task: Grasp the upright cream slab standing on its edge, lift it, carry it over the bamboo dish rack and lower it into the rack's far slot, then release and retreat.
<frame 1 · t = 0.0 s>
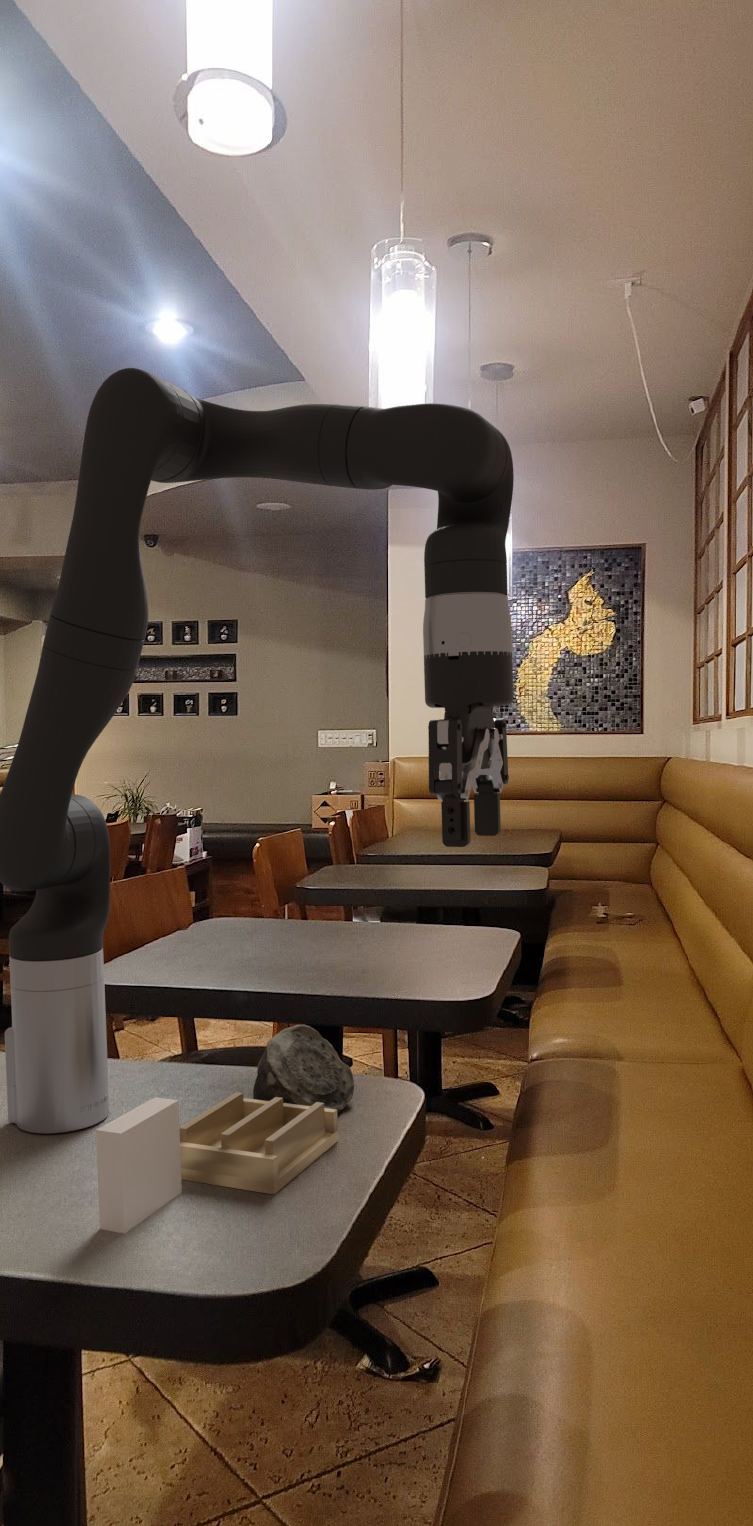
hand: (472, 840, 93), 29 cm above the table, fingers open, 8 cm apart
rack: (254, 1157, 99), on the table
fossil: (303, 1110, 112), on the table
upright cream slab: (142, 1210, 89), on the table
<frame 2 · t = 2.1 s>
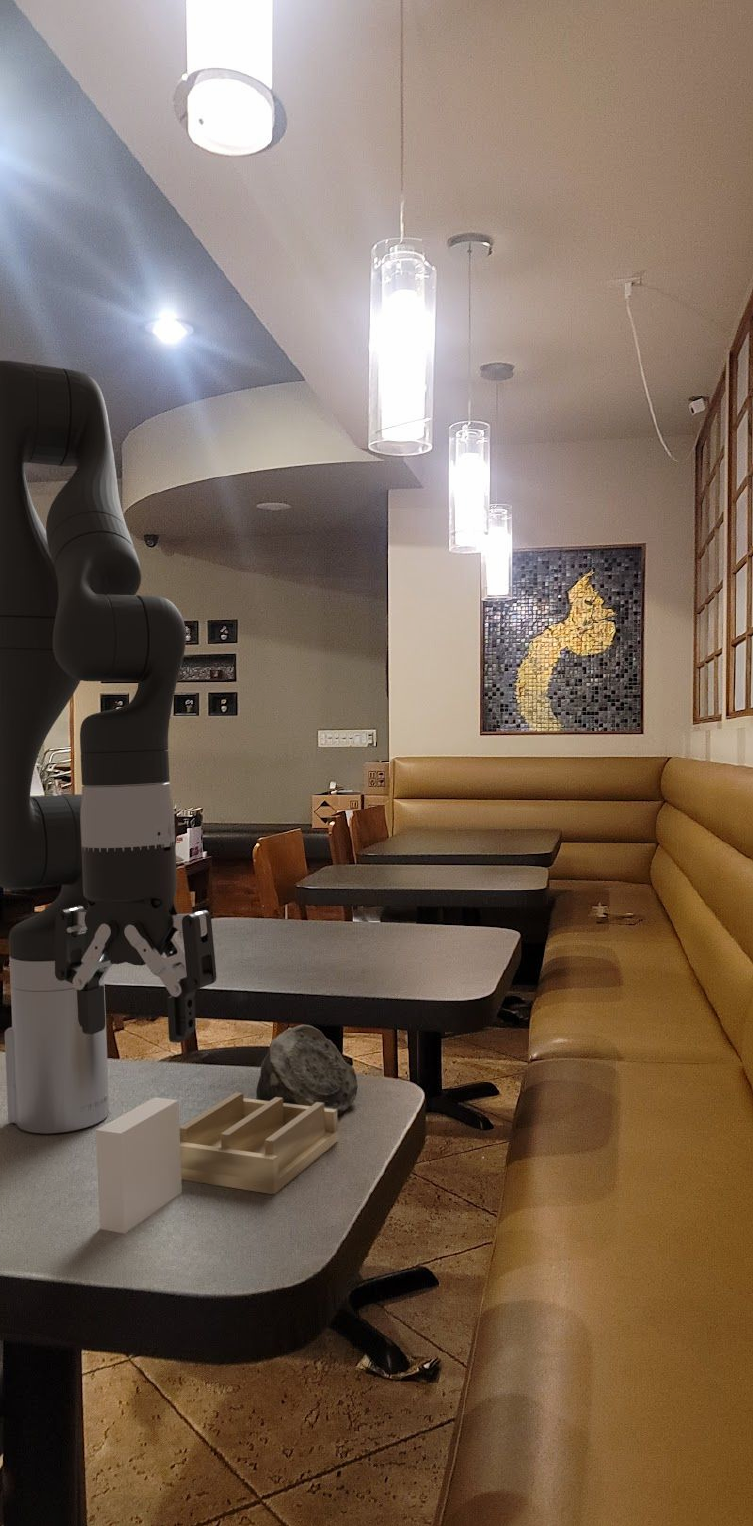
hand: (136, 1036, 89), 14 cm above the table, fingers open, 8 cm apart
nothing on the table moved.
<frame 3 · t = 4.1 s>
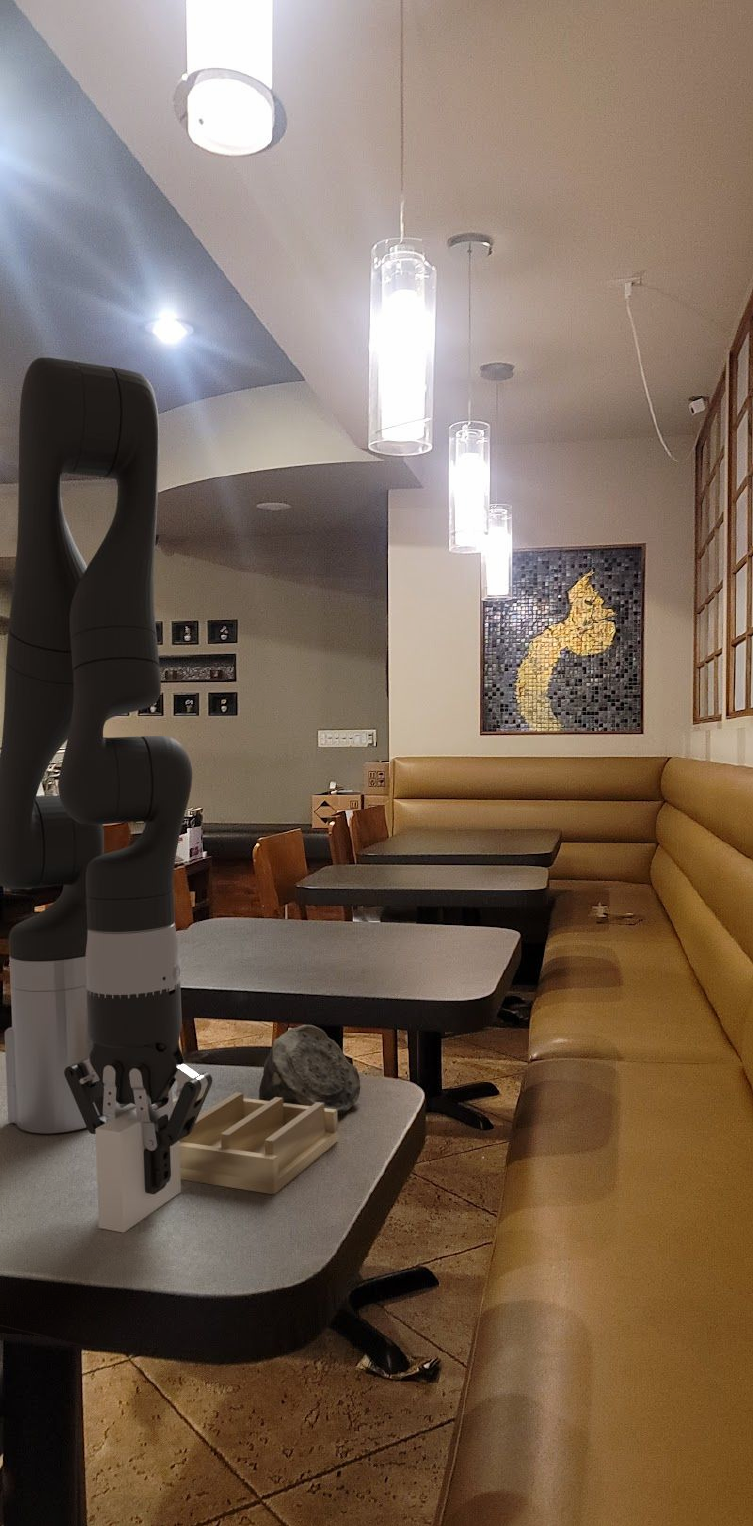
hand: (141, 1186, 89), 2 cm above the table, fingers closed on upright cream slab, 2 cm apart
upright cream slab: (141, 1209, 89), on the table, touching gripper
everything else where it was.
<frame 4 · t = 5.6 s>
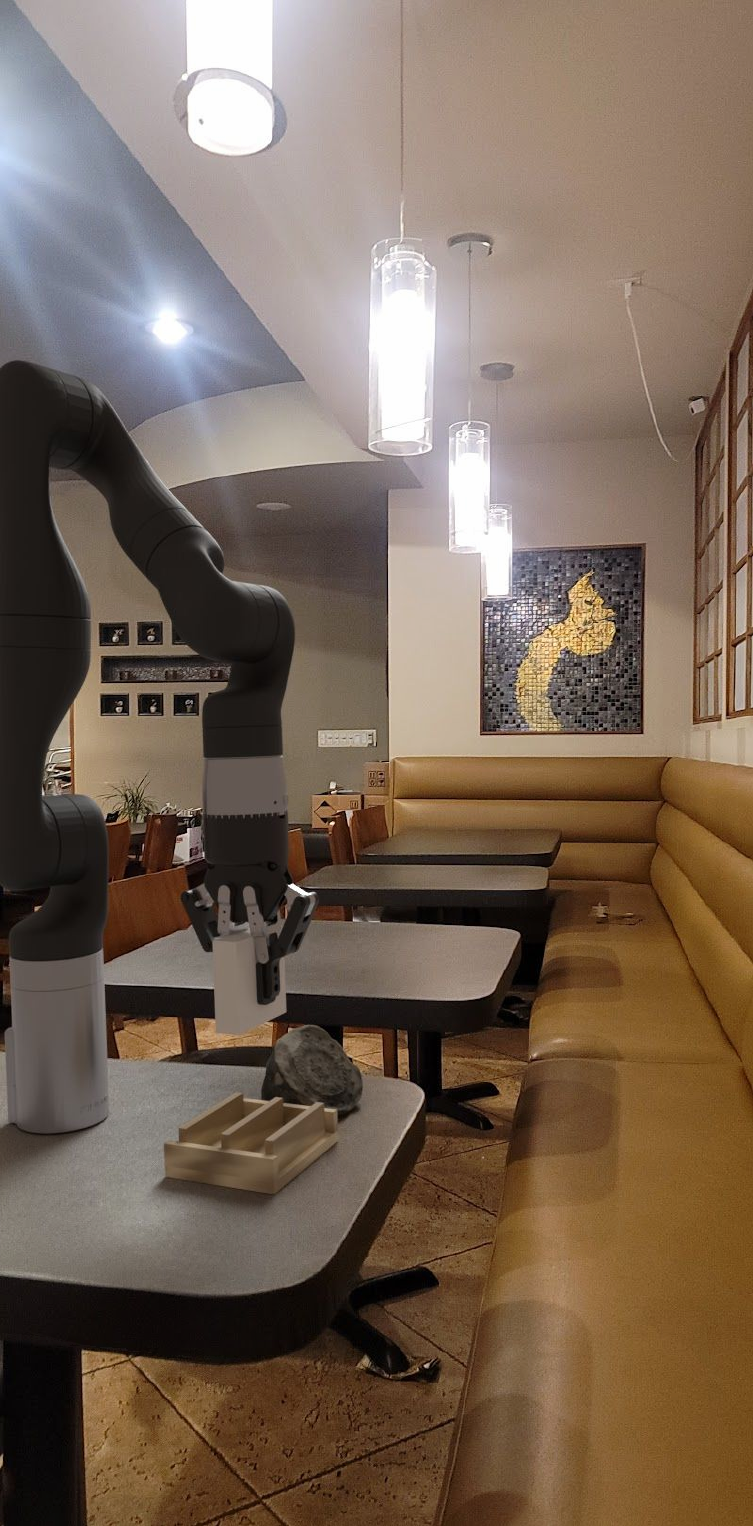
hand: (252, 1000, 96), 15 cm above the table, fingers closed on upright cream slab, 2 cm apart
upright cream slab: (252, 1022, 96), point 13 cm above the table, touching gripper
everything else where it was.
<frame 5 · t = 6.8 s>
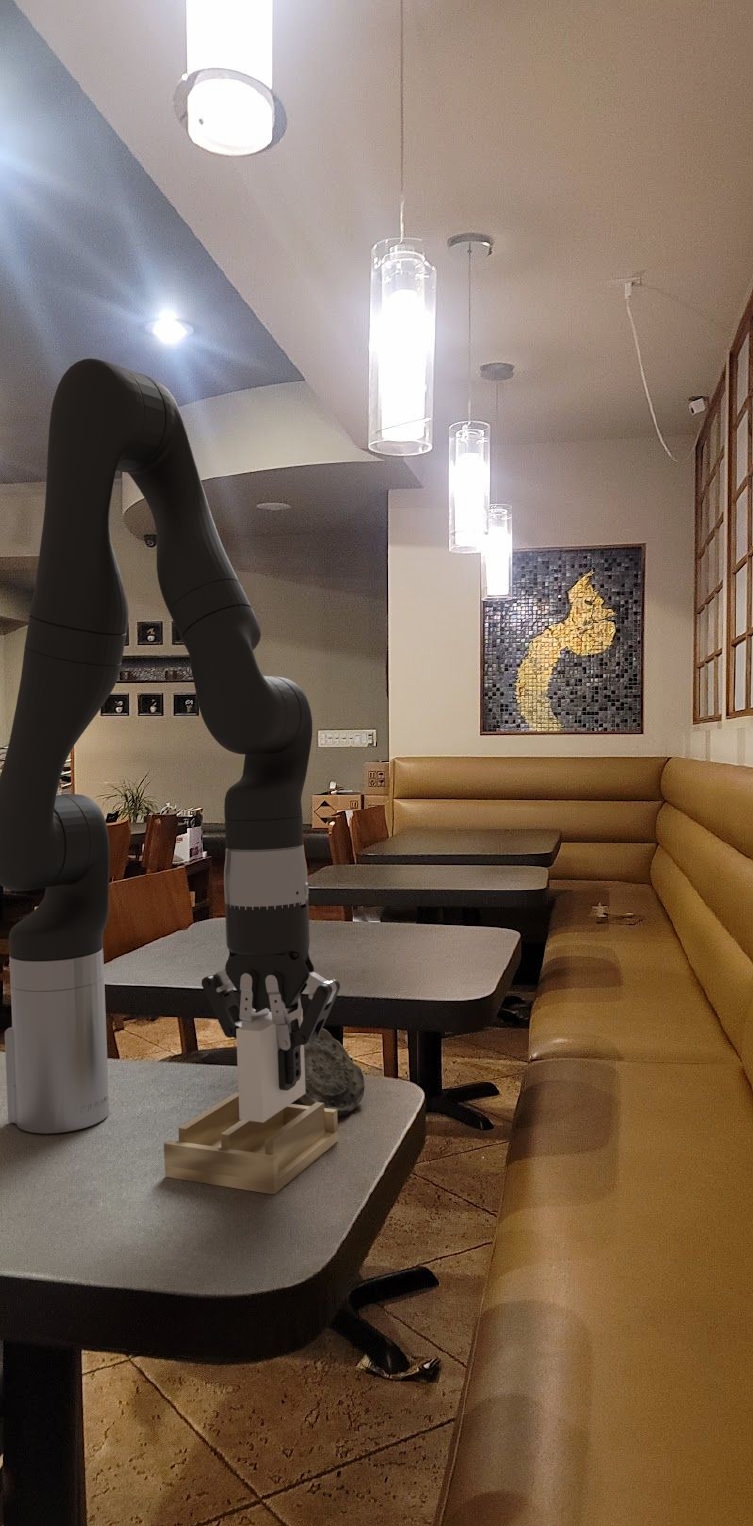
hand: (273, 1085, 98), 7 cm above the table, fingers closed on upright cream slab, 2 cm apart
upright cream slab: (273, 1105, 98), point 5 cm above the table, touching gripper
when the fingers open (5 cm above the table, at t = 7.4 s): upright cream slab drops 2 cm, resting on rack.
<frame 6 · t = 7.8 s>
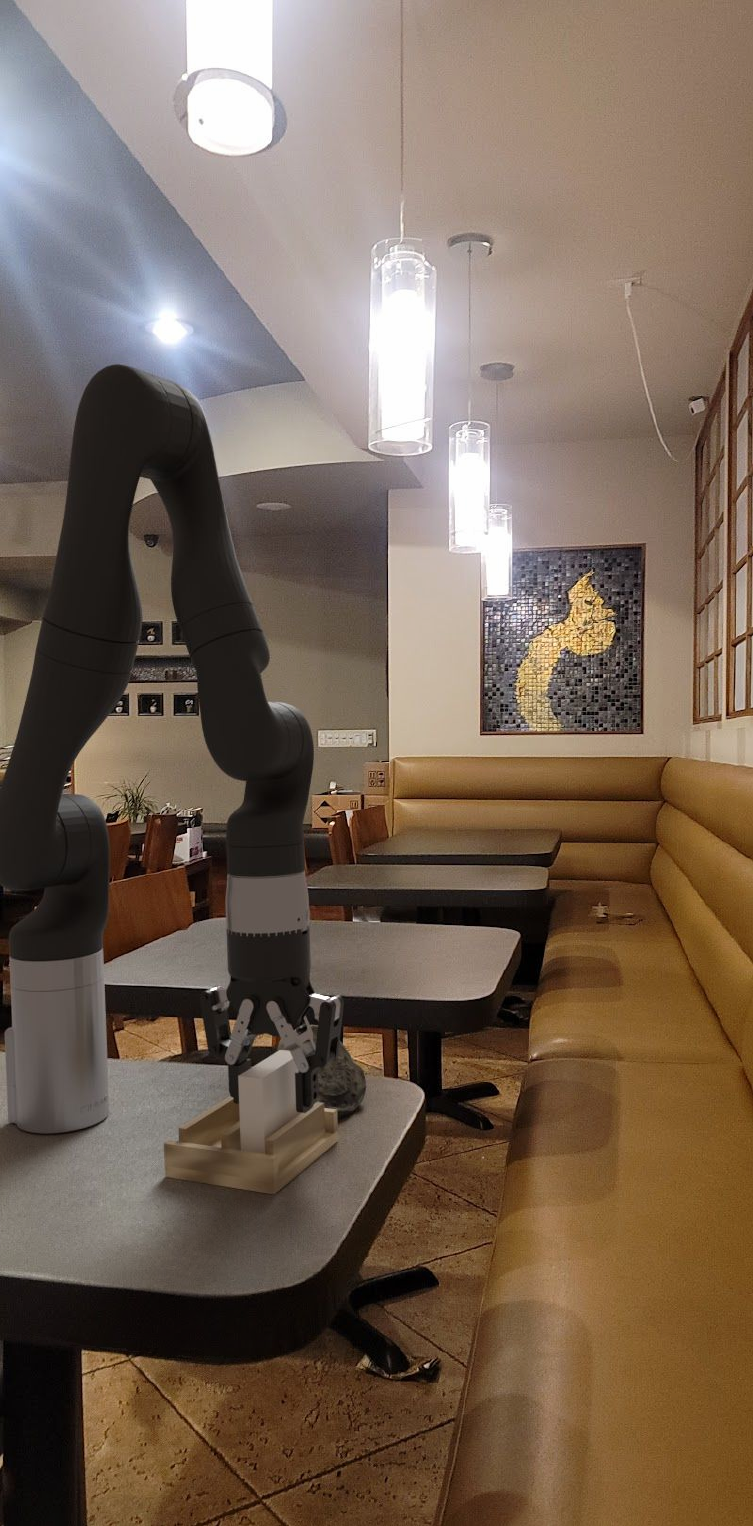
hand: (273, 1105, 98), 5 cm above the table, fingers open, 6 cm apart
upright cream slab: (274, 1150, 98), point 1 cm above the table, touching rack
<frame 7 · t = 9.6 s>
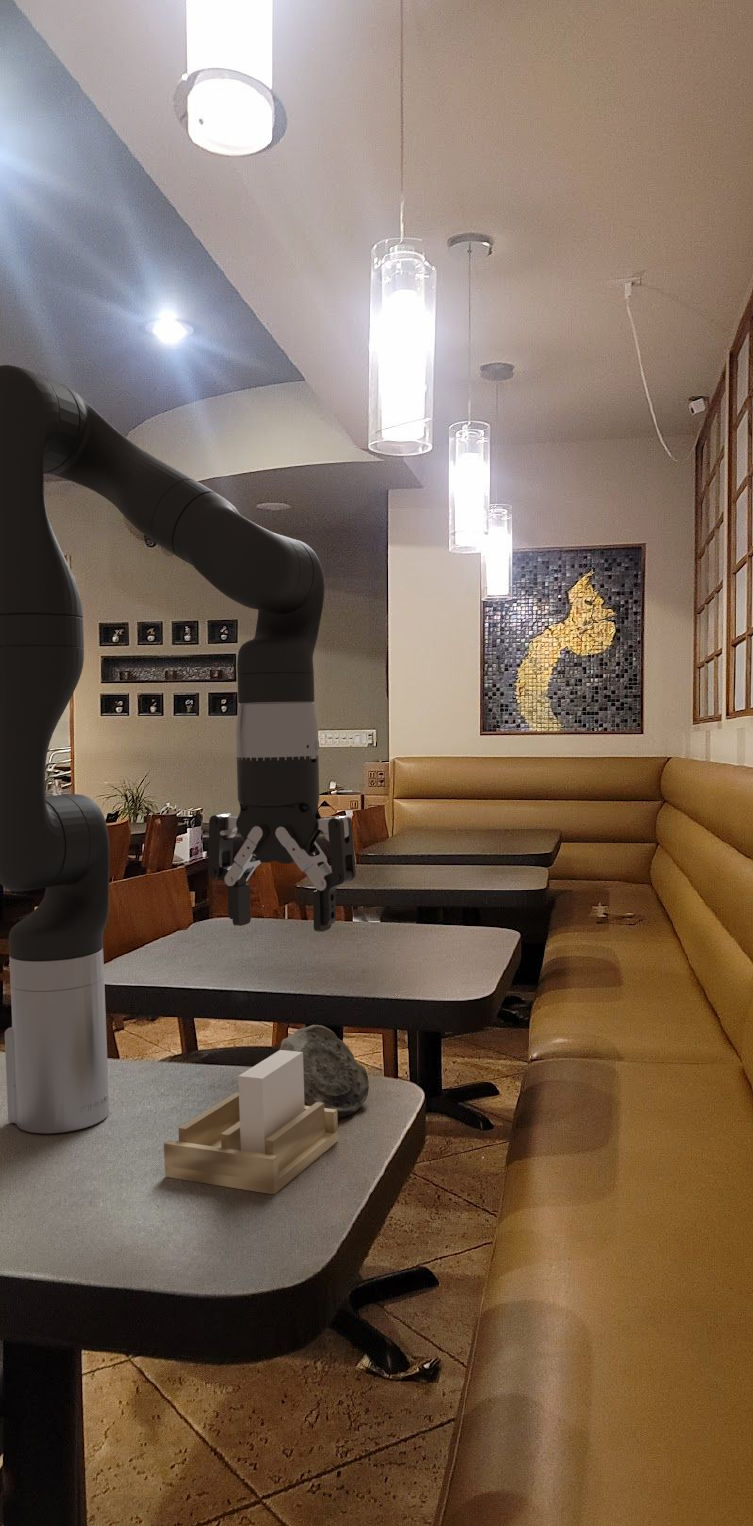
hand: (281, 927, 100), 21 cm above the table, fingers open, 8 cm apart
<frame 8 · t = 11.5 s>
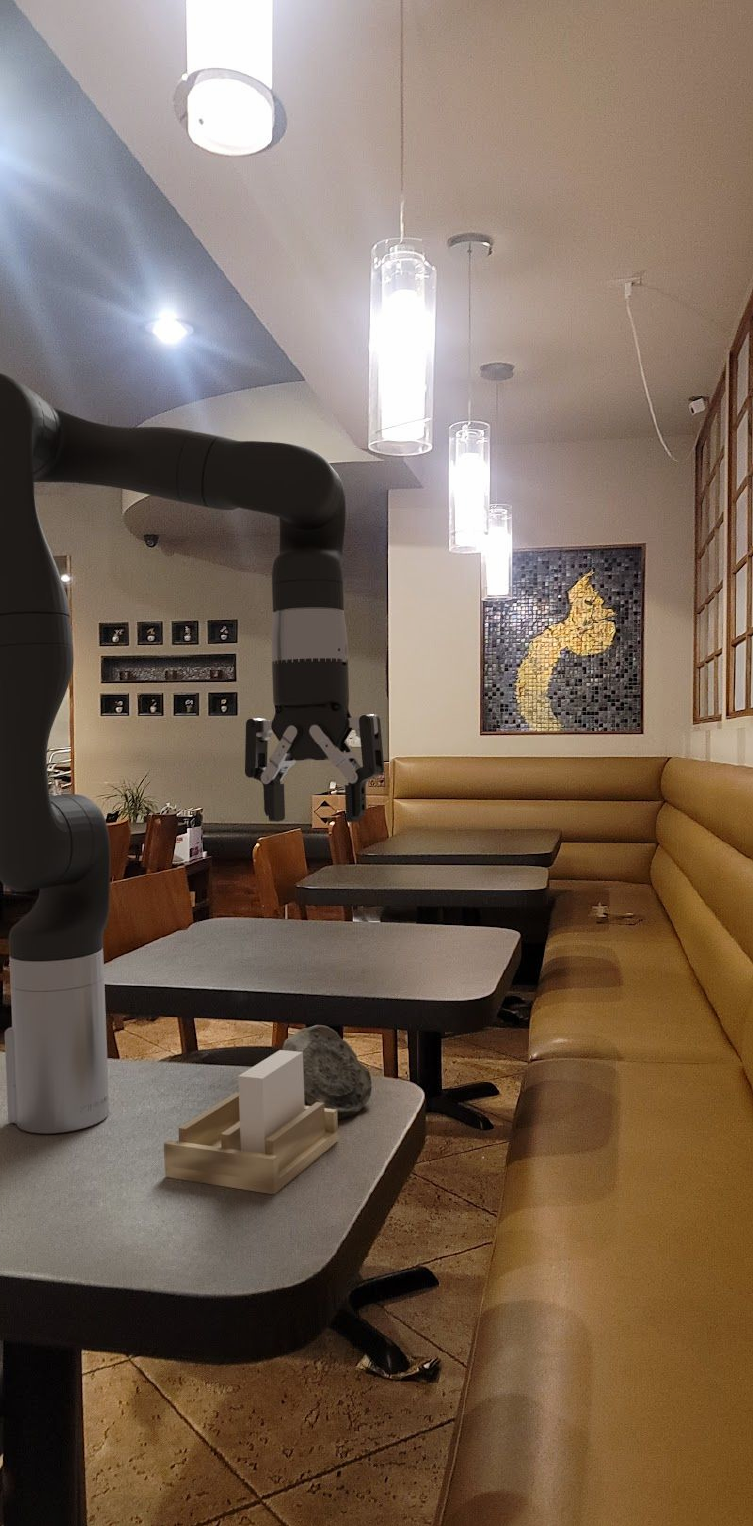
hand: (315, 821, 107), 30 cm above the table, fingers open, 8 cm apart
at the end: upright cream slab 0.1 cm from the target spot on the rack, point 1.0 cm above the rack's base; upright cream slab tilted 0°; the gripper is holding nothing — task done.
